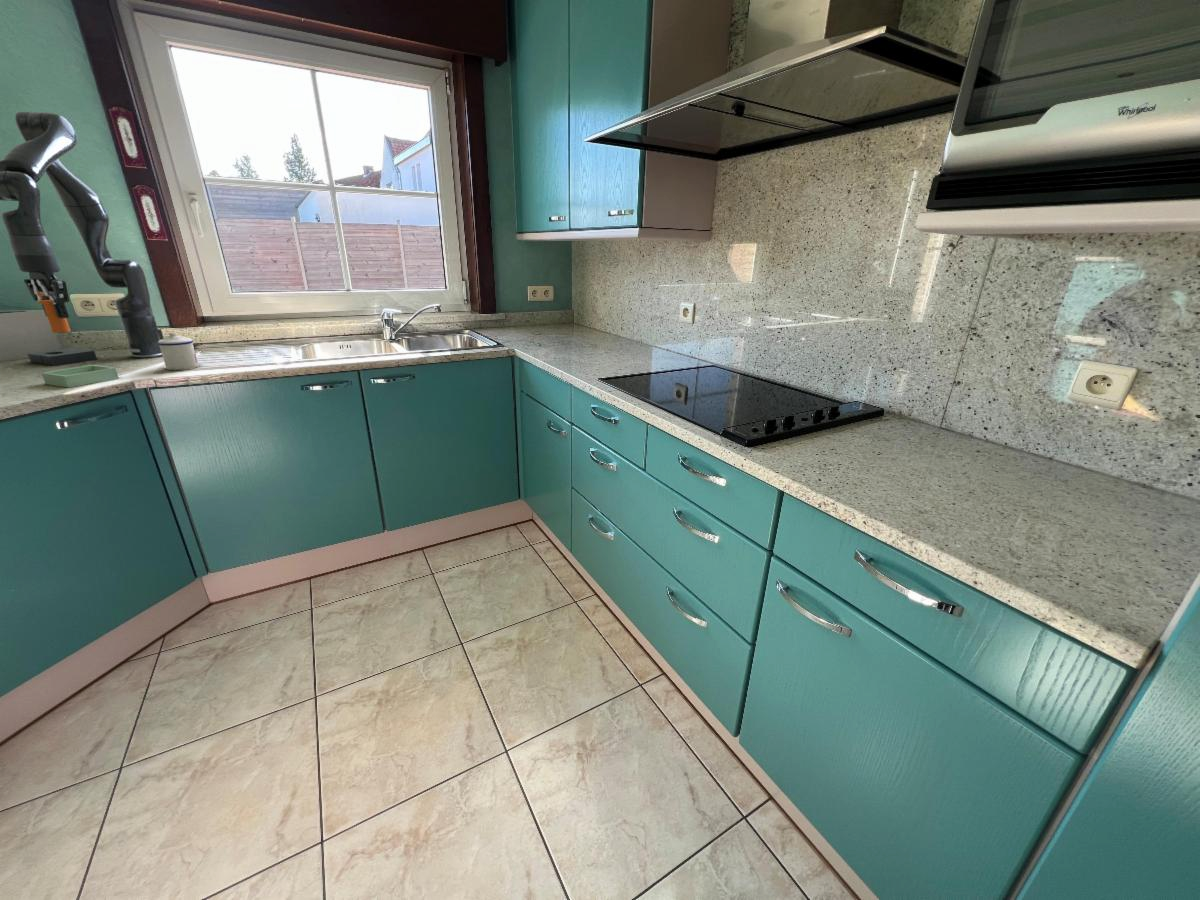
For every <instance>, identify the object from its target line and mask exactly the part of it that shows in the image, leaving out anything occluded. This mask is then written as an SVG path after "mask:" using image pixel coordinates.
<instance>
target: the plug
mask: <svg viewBox="0 0 1200 900" xmlns="http://www.w3.org/2000/svg"><path fill="white" fill-rule="evenodd" d="M38 303H39V304H40V305H42V304H43V305H44V308H45V311H46V314H47V316H46V317H47V320H48V322H49V325H50V328H51V331H52V333H53V334H54V333H55V334H56V333H57V334H61V333H64V334H65V333H71V328H70V325H69V322H68V318H58V317H57V314H56V311H55V309H54V306H53V305H54V304H53V303H52V301H51V300H39V302H38Z"/></svg>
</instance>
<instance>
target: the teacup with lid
mask: <svg viewBox="0 0 1200 900" xmlns="http://www.w3.org/2000/svg"><path fill="white" fill-rule="evenodd" d="M168 334H169V335H166V337H164V339H162V340H159V341H158V344H159V346H160V349H161V353H162V356H161V357H162V359H163V361H164V362H163V363H164V365H165V368H166V369H167V370H169V371H181V370H190V369H195V368H198V367H199V365H200V364H199V361H198V358H197V354H196V350H195V348H194V347H195V346H193V344H194V340H193V339H192V338H191V337H190V338H189V337H185V336H183V335H179V334H178V333H177V332H174V331H172V332H171V331H170V332H169V333H168Z"/></svg>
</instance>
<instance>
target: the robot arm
mask: <svg viewBox="0 0 1200 900" xmlns="http://www.w3.org/2000/svg"><path fill="white" fill-rule="evenodd" d="M14 120H15V124H16V127H17V129H18V131H19V134H20V135H21V137H22V138H23V140H24V142H21V143H18V144H16V145H15V146H13V147H11V148H10V149H9V150H8V152H6V154H5V155H4V156H3V158H2V159H0V201H3V202H4V201H6V202H18V205H17V207H16V208H15V209H12V210H6V211H2V212H1V213H0V217H1V220H2V223H3V225H4V228H5V230H6V233H7V236H8V240H9V245H10V247H11V249H12V253H13V255H14V258H15V261H16V263H17V266H18V268H19V270H20V271H21V272H23V273H28V274H29V278H24V279H23V282H24V284H25V286H26V287H27V290H28V291H29V293H30V296H31V297H32V299H33V300H34V301H35V302H38V303H39V300H51V301H52V303H53V304H54V305H53V306H54V309H55V311H56V314H57V317H58V318H66V319H68V318H70V315H69V313H68V310H67V307H66V304H67V303H69V302H70V298H69V292H68V287H67V283H66V281H65V280H59V279H58V277H57V276H56V275H55V273H58V272H60V267H59V264H58V261H57V259H56V255H55V253H54V250H53V247H52V245H51V242H50V241H49V239H48V237H47V234H46V231H45V229H44V225H43V223H42V218H41V217H42V216H41V191H40V188H39V186H38V184H37V183H38V182H39V181H40V180H41V178H42V177H43V175H44V174H46V175H47V177H48V179H49V181H50V182H51V185H52V186H53V188H54V190H55V191H56V193H57V195H58V198H59V200H60V201H61V203H62V205H63V208H64V209H65V211H66V212H67V214H68V217H69V218H70V220H71V221H72V223H73V225H74V227H75V228H76V230H77V232H78V234H79V236H80V237H81V239H82V241H83V243H84V245H85V247H86V249H87V252H88V255H89V256H90V258H91V261H92V264H93V266H94V268H95V271H96V272H97V275H98V276H99V278H100V279H101V281H102V282H103V283H104V284H105V285H107V286H108V287H110V288H118V289H119V288H124V289H126V291H127V294H125V295H124V296H122V297H119V298H117V299H115V300H114V305H115V307H116V310H117V313H118V316H119V319H120V322H121V325H122V328H123V332H124V334H125V338H126V340H127V343H128V346H129V350H130V353H131V357H132V358H136V359H144V358H146V359H147V358H157V357H163V356H162V353H161V349H160V346H159V344H158V341H159V340H162V339H164V338H165V337H164V334H163V332H162V328H160V327H158V325H157V324H158V323H157V321H156V317H155V315H154V311H153V308H152V305H151V293H150V290H149V287H148V282H147V277H146V274H145V272H144V269H143V268H142V266H141V265H140V264H139V263H138V262H137V261H135V260H132V259H113V257H112V254H111V253H110V251H109V248H108V244H107V237H108V234H109V233H108V232H109V227H110V217H109V214H108V212H107V210H106V208H105V206H104V205H103V202H102V200H101V199H100V197H99V196H98V194H97V193H96V192H95V190H93V189H92V188H91V187H89V186H88V184H86V183H85V182H83V180H81V179H79V178H78V177H77V175H75V174H73V173H72V172H71V171H70V170H69V169H68V168H67V167H66V166H65V165H64V164H63V163H62V162H61V160H60V158H62V157H63V156H64V155H66V154H67V153H69V152H70V151H72V150H73V149H74V148H76V146H77V144H78V135H77V132H76V130H75V128H74V126H73V125H72V124H71V123H70V121H69V120H68V119H67V118H66V117H64V116H63V115H61V114H58V113H52V112H41V111H23V110H22V111H16V113H15V115H14ZM41 307H42V309H43V313H44V315H45V317H47V314H46V311H45V308H44V305H43V304H41ZM195 343H196V344H194V343H193V344H194V345H193V346H194V347H197V346H198V345H199V342H195Z"/></svg>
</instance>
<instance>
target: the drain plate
mask: <svg viewBox="0 0 1200 900" xmlns="http://www.w3.org/2000/svg"><path fill="white" fill-rule="evenodd" d="M27 356H28V358H29V361H30V363H33V364H39V365H47V366H60V365H67V364H73V363H74V364H75V363H80V362H88V361H93V360H98V357H97V355H96V351H95V350H91V349H83V348H75V347H68V348H61V349H60V348H59V349H53V350H52V349H51V350H46V351H45V350H44V351H35V352H30V353H27Z"/></svg>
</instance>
